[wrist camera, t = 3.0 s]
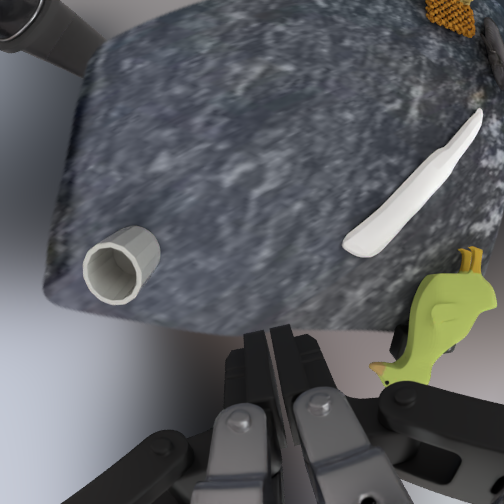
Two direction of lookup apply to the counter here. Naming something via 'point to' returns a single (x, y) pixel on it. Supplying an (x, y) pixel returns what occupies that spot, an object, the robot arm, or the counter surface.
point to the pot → (121, 264)
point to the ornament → (452, 15)
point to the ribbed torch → (494, 50)
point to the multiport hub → (404, 342)
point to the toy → (440, 319)
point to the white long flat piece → (411, 194)
